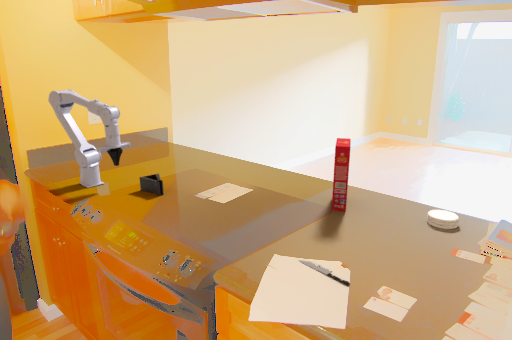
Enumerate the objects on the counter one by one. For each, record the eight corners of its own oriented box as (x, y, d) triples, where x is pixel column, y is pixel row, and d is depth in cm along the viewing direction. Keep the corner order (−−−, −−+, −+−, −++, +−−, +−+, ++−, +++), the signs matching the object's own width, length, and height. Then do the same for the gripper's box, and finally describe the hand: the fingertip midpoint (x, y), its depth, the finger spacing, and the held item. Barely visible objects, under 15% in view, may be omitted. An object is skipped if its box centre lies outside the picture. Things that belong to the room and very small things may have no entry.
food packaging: (345, 211, 142) (350, 146, 135) (331, 210, 143) (335, 146, 136) (346, 197, 156) (350, 138, 149) (333, 196, 157) (337, 138, 150)
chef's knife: (299, 256, 111) (292, 259, 109) (299, 253, 110) (292, 256, 108) (355, 283, 97) (348, 287, 95) (355, 279, 97) (348, 283, 95)
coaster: (456, 232, 125) (457, 222, 124) (424, 225, 130) (425, 216, 129) (459, 221, 133) (460, 212, 132) (428, 215, 138) (430, 207, 137)
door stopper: (140, 190, 165) (151, 197, 156) (139, 177, 163) (150, 184, 154) (159, 186, 170) (171, 193, 161) (158, 173, 169) (170, 179, 160)
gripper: (100, 138, 154) (104, 170, 157) (132, 133, 164) (136, 163, 167) (92, 136, 158) (97, 167, 162) (124, 131, 168) (128, 160, 172)
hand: (116, 165), depth 165 cm, fingers closed
